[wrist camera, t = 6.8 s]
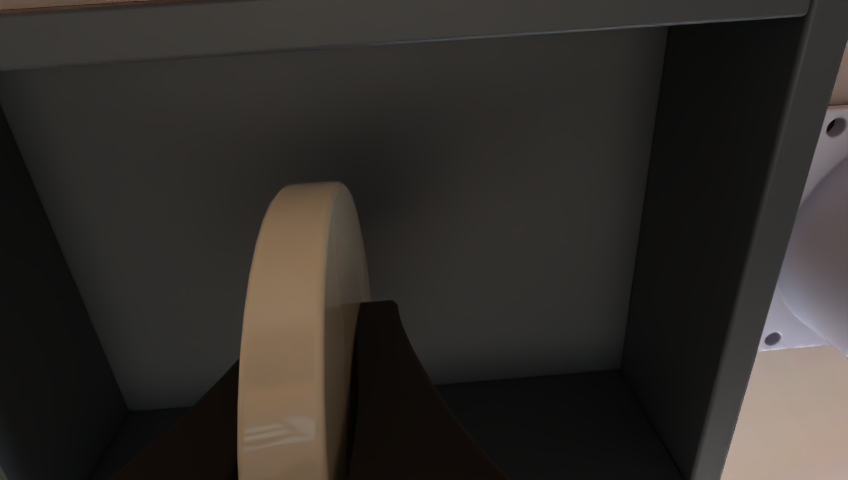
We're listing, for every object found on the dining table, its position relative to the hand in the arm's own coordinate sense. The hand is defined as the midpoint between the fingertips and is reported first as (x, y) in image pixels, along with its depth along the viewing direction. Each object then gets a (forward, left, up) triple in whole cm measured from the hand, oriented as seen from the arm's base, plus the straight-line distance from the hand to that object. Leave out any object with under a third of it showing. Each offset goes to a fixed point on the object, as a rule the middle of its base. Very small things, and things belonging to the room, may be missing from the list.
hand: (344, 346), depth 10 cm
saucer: (0, 0, -2) cm, 2 cm away
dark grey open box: (0, 0, -5) cm, 5 cm away
